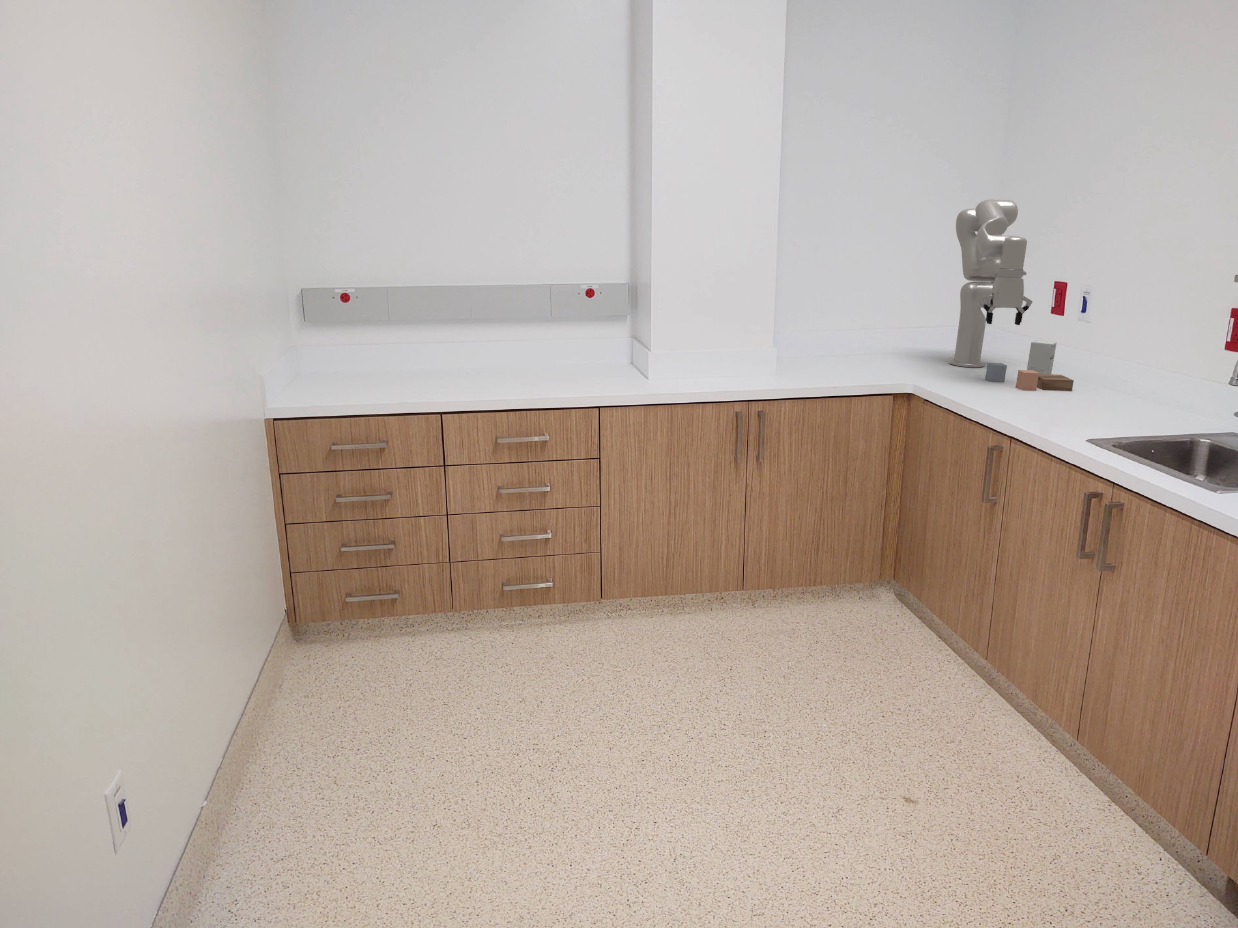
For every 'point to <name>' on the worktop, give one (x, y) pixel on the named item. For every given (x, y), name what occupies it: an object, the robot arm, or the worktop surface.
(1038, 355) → the supplement box
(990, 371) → the grey block
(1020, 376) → the terracotta block
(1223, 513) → the worktop surface
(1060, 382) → the walnut base
